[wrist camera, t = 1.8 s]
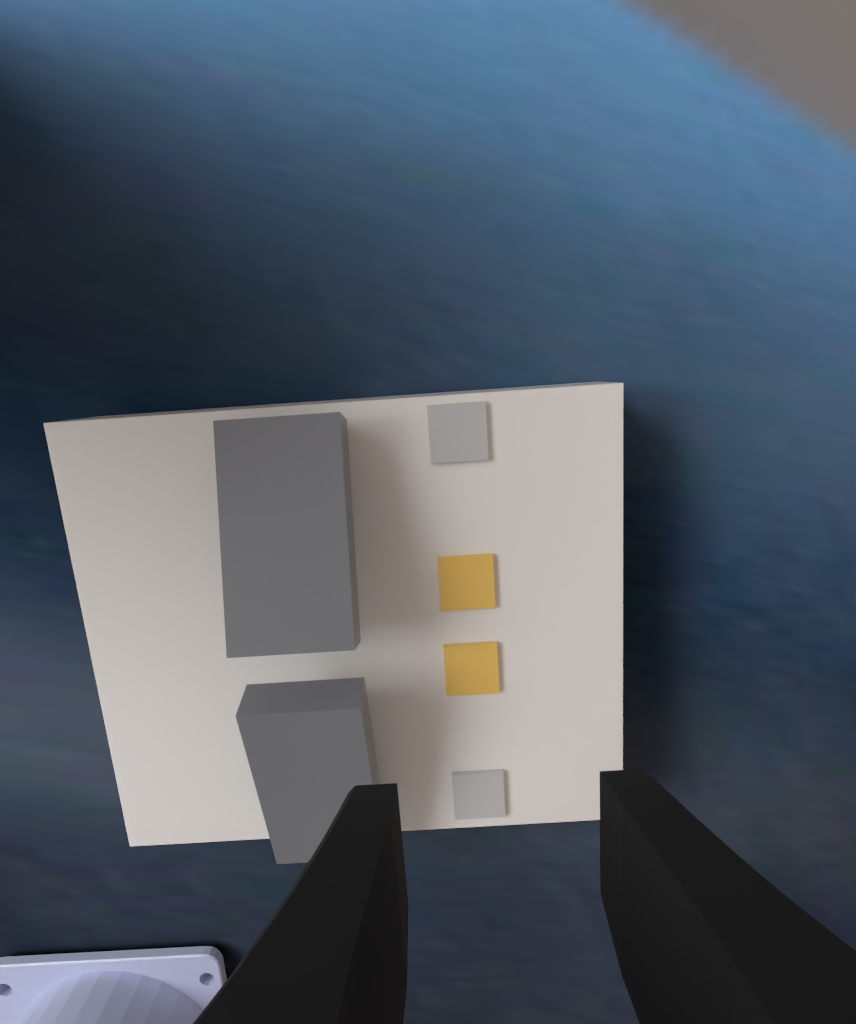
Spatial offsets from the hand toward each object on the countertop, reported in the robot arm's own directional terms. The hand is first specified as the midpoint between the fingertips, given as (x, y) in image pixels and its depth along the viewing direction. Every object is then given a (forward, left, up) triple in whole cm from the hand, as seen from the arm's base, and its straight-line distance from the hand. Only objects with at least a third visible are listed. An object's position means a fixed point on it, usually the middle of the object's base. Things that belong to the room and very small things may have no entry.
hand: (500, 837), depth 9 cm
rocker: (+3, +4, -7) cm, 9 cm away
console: (0, +3, -10) cm, 10 cm away
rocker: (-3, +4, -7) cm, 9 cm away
